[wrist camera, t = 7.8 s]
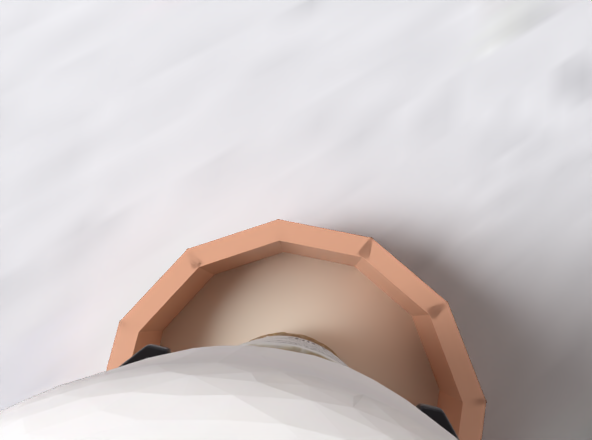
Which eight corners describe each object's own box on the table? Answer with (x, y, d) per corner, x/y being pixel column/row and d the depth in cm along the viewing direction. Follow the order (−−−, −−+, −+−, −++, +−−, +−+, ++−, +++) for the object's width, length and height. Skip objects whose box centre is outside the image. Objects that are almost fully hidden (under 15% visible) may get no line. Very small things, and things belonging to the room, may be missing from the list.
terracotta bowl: (423, 608, 15) (452, 679, 12) (98, 528, 15) (49, 577, 13) (469, 273, 17) (504, 263, 14) (179, 215, 17) (153, 194, 15)
